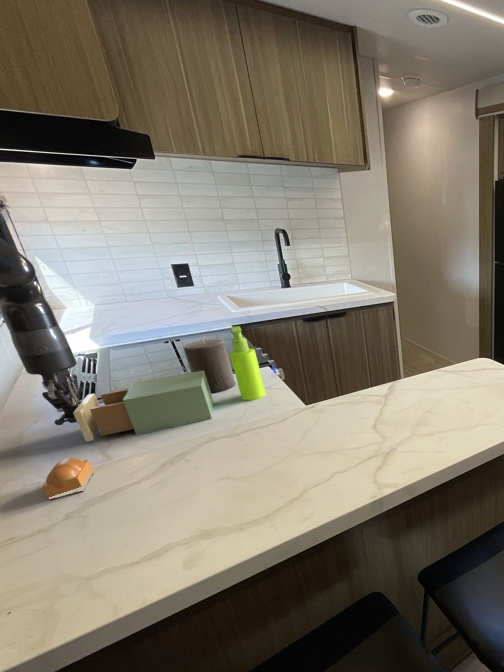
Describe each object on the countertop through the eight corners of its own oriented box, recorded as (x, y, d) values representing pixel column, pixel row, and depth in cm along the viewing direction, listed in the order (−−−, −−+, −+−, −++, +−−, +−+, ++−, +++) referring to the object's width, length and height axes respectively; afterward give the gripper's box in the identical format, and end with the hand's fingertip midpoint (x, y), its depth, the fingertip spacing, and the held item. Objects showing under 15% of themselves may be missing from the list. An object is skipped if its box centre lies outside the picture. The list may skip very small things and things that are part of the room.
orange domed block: (48, 501, 71) (36, 478, 69) (62, 480, 77) (51, 458, 75) (83, 492, 73) (73, 469, 71) (94, 472, 79) (84, 451, 77)
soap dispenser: (243, 403, 108) (223, 331, 101) (240, 395, 114) (221, 326, 106) (267, 397, 111) (250, 327, 104) (264, 390, 117) (247, 323, 110)
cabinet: (136, 435, 93) (122, 400, 90) (145, 414, 103) (133, 382, 100) (211, 418, 100) (201, 385, 97) (213, 400, 110) (203, 370, 107)
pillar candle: (222, 393, 115) (207, 343, 110) (189, 394, 115) (172, 344, 110) (243, 381, 124) (230, 334, 119) (212, 381, 125) (198, 334, 119)
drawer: (59, 447, 87) (44, 417, 84) (75, 426, 96) (62, 398, 93) (162, 425, 95) (152, 397, 93) (168, 407, 105) (159, 382, 102)
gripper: (30, 344, 89) (63, 414, 95) (4, 359, 78) (43, 437, 84) (77, 338, 92) (105, 406, 98) (58, 352, 82) (91, 427, 88)
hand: (76, 421), depth 91 cm, fingers closed
